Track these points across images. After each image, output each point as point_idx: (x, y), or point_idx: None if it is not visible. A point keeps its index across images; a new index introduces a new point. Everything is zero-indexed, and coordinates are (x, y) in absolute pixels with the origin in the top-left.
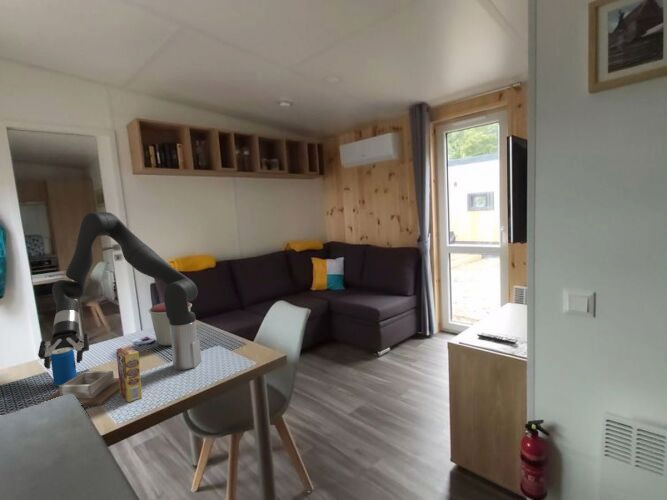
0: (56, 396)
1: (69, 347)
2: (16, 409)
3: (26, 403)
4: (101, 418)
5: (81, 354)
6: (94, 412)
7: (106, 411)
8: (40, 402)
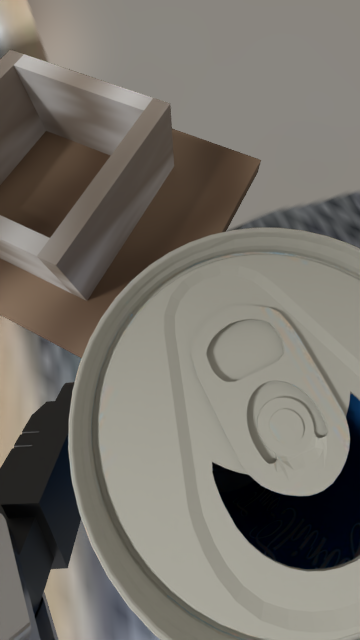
0: (199, 195)
1: (144, 615)
2: (349, 193)
3: (333, 233)
4: (22, 20)
5: (8, 462)
6: (41, 56)
7: (6, 48)
8: (254, 169)
